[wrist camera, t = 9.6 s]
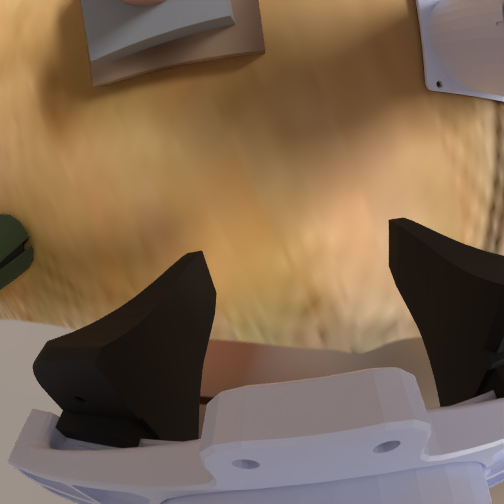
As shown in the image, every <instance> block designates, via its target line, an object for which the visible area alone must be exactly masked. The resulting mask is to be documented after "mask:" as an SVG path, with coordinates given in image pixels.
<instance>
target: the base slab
mask: <svg viewBox="0 0 504 504" xmlns="http://www.w3.org/2000/svg"><path fill="white" fill-rule="evenodd" d="M230 2H231V6H232V10H233V15H234V19H235V24H234V25H229V26H225V27H220V28H216V29H211V30H207V31H203V32H199V33H196V34H192V35H188V36H185V37H181V38H178V39H174V40H171V41H168V42H165V43H162V44H159V45H156V46H153V47H150V48H147V49H144V50H141V51H138V52H136V53H133V54H130V55H128V56H125V57H123V58H120V59H118V60H115V61H113V62H91V59H90V54H89V49H88V56H89V64H90V71H91V78H92V85H93V87H97V86H106V85H109V84H112V83H116V82H119V81H122V80H126V79H129V78H133V77H136V76H140V75H144V74H148V73H152V72H156V71H160V70H164V69H168V68H173V67H178V66H182V65H187V64H192V63H198V62H203V61H209V60H215V59H222V58H228V57H236V56H244V55H253V54H262V53H265V47H264V39H263V31H262V24H261V17H260V9H259V2H258V0H230ZM87 48H88V43H87Z"/></svg>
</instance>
